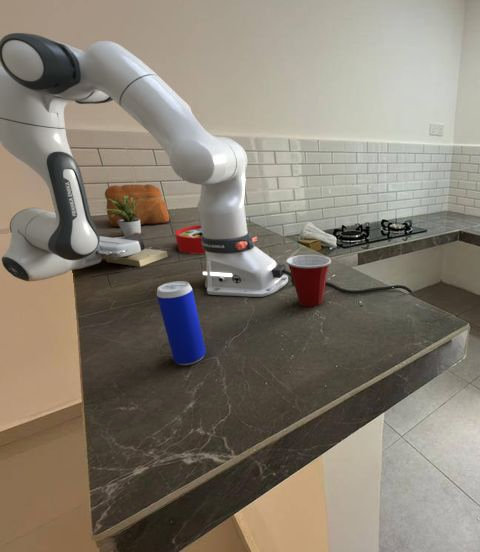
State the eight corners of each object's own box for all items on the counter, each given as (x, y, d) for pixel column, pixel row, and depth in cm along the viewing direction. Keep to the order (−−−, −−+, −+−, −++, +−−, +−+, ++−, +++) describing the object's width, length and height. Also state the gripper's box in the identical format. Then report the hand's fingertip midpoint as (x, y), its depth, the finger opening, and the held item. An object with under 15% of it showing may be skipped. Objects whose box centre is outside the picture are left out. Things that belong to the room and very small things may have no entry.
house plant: (111, 232, 132) (99, 191, 126) (153, 229, 139) (143, 190, 133) (106, 241, 121) (92, 197, 115) (152, 237, 128) (141, 195, 122)
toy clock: (160, 235, 112) (199, 222, 130) (164, 251, 114) (202, 236, 133) (215, 239, 111) (246, 226, 129) (218, 256, 113) (248, 240, 131)
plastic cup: (339, 296, 88) (338, 255, 84) (319, 314, 79) (317, 269, 74) (304, 290, 91) (301, 249, 86) (281, 307, 81) (276, 262, 77)
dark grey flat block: (127, 257, 102) (122, 240, 100) (122, 257, 102) (116, 240, 99) (145, 248, 110) (140, 232, 108) (139, 248, 110) (135, 232, 108)
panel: (172, 255, 111) (170, 249, 110) (135, 268, 99) (133, 261, 98) (137, 250, 114) (136, 245, 113) (98, 263, 102) (96, 256, 101)
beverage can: (211, 350, 64) (197, 280, 58) (197, 367, 59) (180, 293, 53) (184, 349, 64) (167, 279, 58) (168, 366, 59) (147, 292, 53)
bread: (171, 224, 148) (163, 186, 141) (110, 229, 135) (97, 188, 129) (168, 216, 160) (160, 181, 154) (111, 221, 148) (100, 183, 142)
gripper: (110, 244, 91) (153, 232, 104) (51, 237, 94) (101, 226, 107) (116, 265, 93) (158, 251, 106) (59, 257, 97) (106, 244, 109)
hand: (129, 239), depth 106 cm, fingers closed
